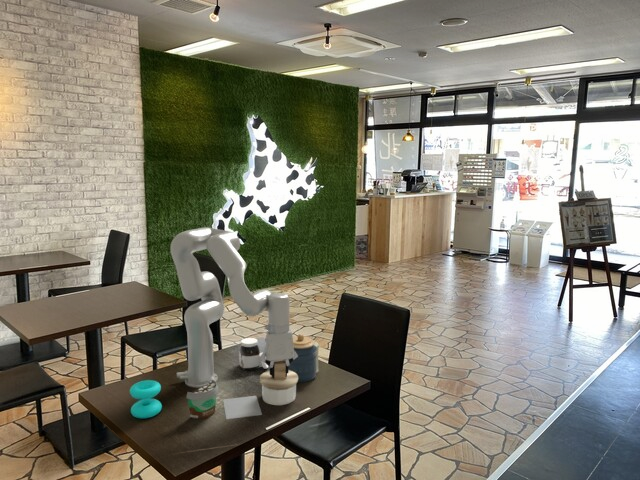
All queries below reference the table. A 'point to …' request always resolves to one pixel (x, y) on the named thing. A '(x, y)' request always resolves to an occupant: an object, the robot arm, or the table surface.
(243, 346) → the spread jar
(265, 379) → the lid
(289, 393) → the bowl
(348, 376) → the table surface
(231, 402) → the mat
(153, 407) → the donuts
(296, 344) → the canister
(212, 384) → the food container
